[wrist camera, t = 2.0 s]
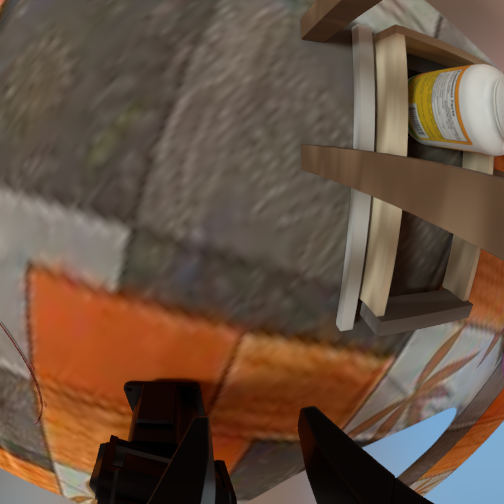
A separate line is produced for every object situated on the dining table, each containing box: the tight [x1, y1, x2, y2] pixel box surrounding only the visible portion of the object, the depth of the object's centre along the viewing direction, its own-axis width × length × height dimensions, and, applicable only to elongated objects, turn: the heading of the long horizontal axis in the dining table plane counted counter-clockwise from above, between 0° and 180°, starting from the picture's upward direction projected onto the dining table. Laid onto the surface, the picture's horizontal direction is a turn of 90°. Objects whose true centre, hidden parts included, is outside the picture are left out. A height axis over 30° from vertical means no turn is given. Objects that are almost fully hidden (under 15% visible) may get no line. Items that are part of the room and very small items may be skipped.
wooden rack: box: [358, 24, 494, 337], centre depth 18 cm, size 20×9×4 cm, turn 0°
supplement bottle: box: [408, 64, 504, 156], centre depth 13 cm, size 5×5×10 cm
